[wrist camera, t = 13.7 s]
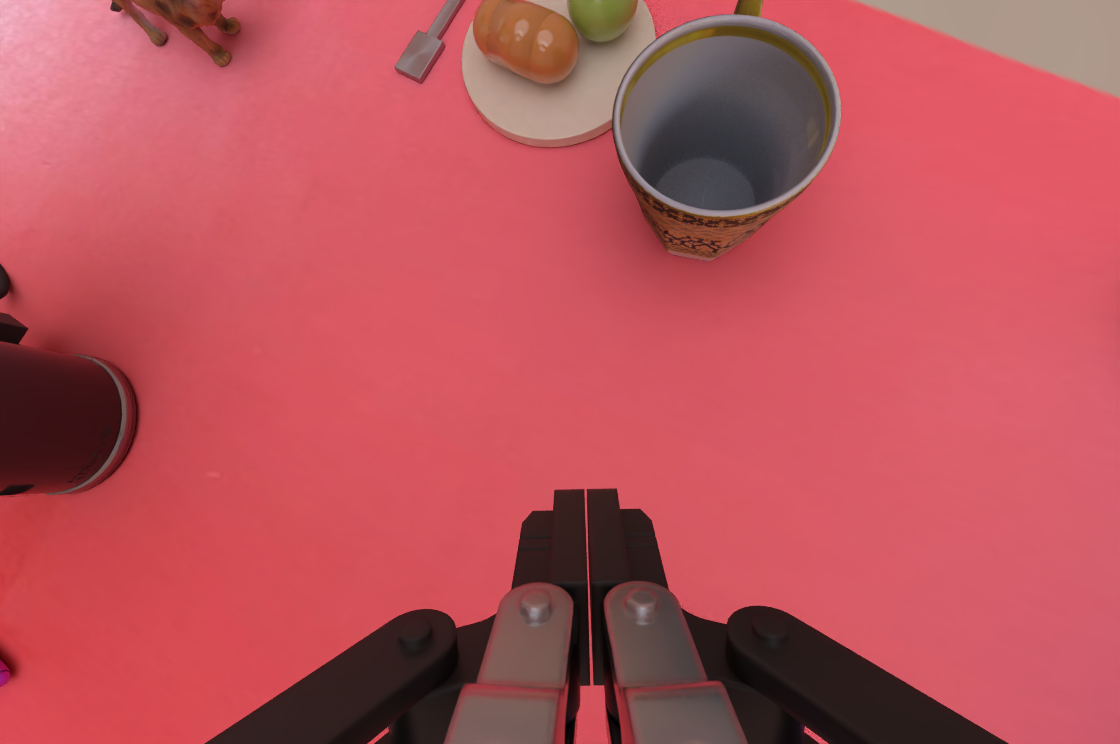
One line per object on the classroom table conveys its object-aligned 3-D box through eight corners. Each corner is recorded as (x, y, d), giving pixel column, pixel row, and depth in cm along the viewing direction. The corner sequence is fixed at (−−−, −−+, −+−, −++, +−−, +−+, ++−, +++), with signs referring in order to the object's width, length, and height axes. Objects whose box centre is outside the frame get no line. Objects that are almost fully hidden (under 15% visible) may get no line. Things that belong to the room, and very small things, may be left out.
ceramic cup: (765, 303, 33) (817, 236, 24) (603, 269, 35) (588, 194, 25) (809, 106, 35) (874, -33, 25) (651, 84, 37) (655, -54, 27)
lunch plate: (431, 102, 39) (398, 45, 34) (526, -50, 40) (508, -129, 35) (593, 179, 36) (585, 130, 31) (691, 14, 37) (699, -60, 32)
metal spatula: (421, 83, 39) (419, 79, 39) (396, 72, 40) (393, 67, 39) (502, -45, 40) (500, -52, 40) (477, -55, 40) (475, -62, 40)
